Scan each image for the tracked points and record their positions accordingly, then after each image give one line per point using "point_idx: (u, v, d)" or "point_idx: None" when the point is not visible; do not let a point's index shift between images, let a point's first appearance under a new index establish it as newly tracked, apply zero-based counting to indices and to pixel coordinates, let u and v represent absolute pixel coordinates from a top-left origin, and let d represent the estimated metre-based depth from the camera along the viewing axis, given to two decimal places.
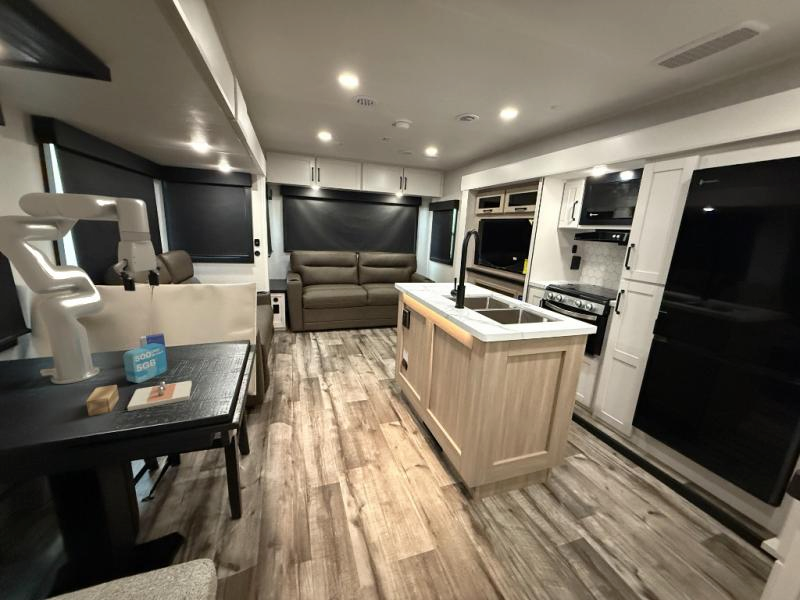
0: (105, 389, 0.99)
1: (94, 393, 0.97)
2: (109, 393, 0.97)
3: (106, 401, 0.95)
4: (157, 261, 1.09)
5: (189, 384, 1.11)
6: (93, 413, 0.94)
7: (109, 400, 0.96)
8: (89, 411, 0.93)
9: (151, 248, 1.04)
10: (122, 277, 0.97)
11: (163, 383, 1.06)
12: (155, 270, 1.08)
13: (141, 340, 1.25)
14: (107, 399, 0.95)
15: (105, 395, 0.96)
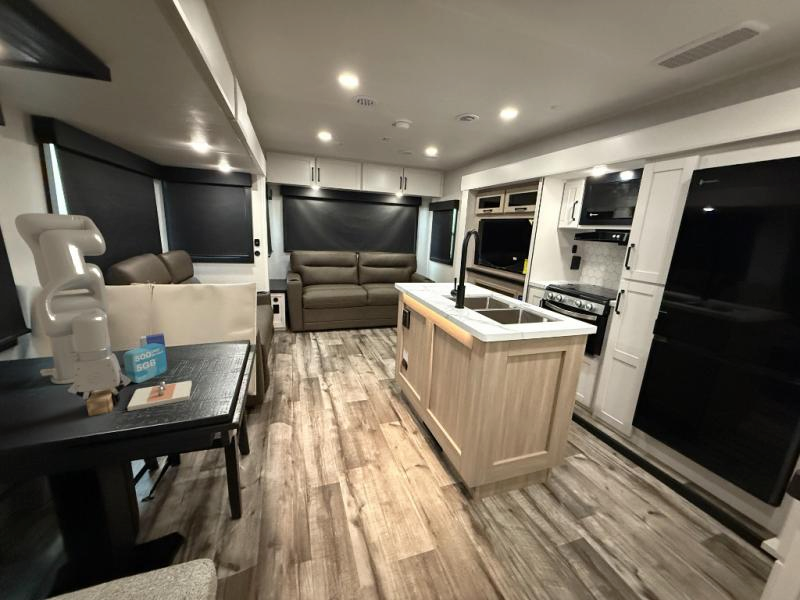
0: (105, 389, 0.99)
1: (94, 393, 0.97)
2: (109, 393, 0.97)
3: (106, 401, 0.95)
4: None
5: (189, 384, 1.11)
6: (93, 413, 0.94)
7: (109, 400, 0.96)
8: (89, 411, 0.93)
9: None
10: None
11: (163, 383, 1.06)
12: None
13: (141, 340, 1.25)
14: (107, 399, 0.95)
15: (105, 395, 0.96)
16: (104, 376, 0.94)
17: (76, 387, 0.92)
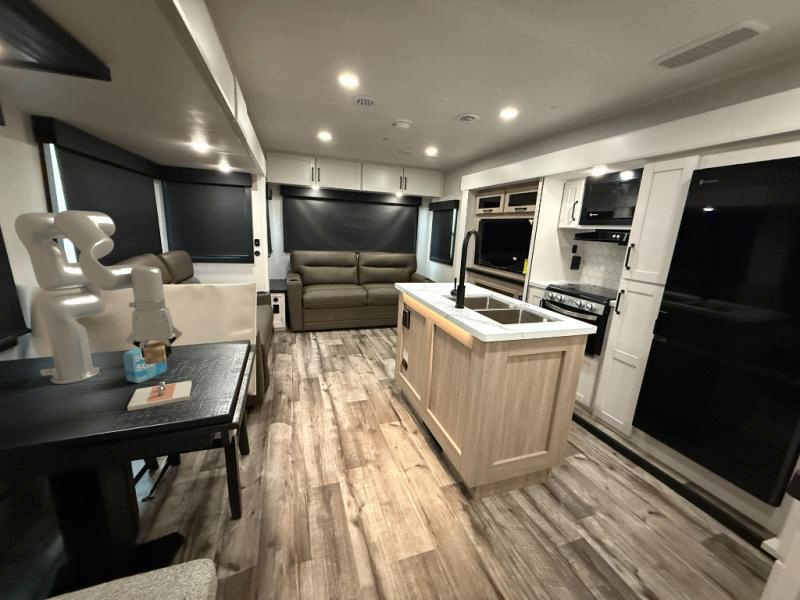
0: (158, 342, 1.03)
1: (148, 344, 1.01)
2: (163, 344, 1.01)
3: (161, 351, 0.99)
4: None
5: (189, 384, 1.11)
6: (149, 362, 0.98)
7: (163, 350, 1.00)
8: (146, 360, 0.97)
9: None
10: None
11: (163, 383, 1.06)
12: None
13: None
14: (162, 349, 0.99)
15: (159, 346, 1.00)
16: (159, 327, 0.98)
17: (134, 336, 0.96)
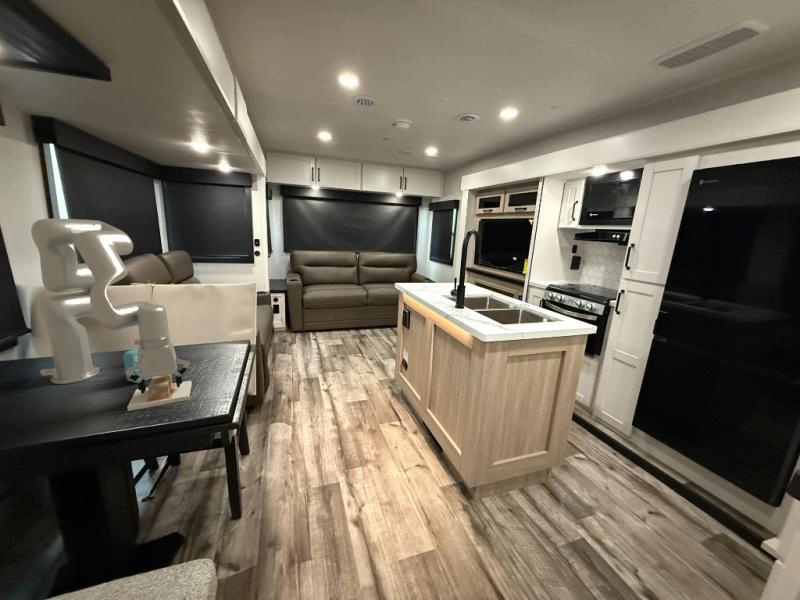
0: (162, 376, 1.06)
1: (153, 379, 1.03)
2: (167, 380, 1.04)
3: (165, 386, 1.02)
4: None
5: (189, 384, 1.11)
6: (154, 398, 1.01)
7: (168, 386, 1.02)
8: (150, 396, 1.00)
9: None
10: (182, 373, 1.07)
11: None
12: None
13: None
14: (166, 385, 1.02)
15: (164, 381, 1.03)
16: (164, 363, 1.01)
17: (139, 373, 0.99)
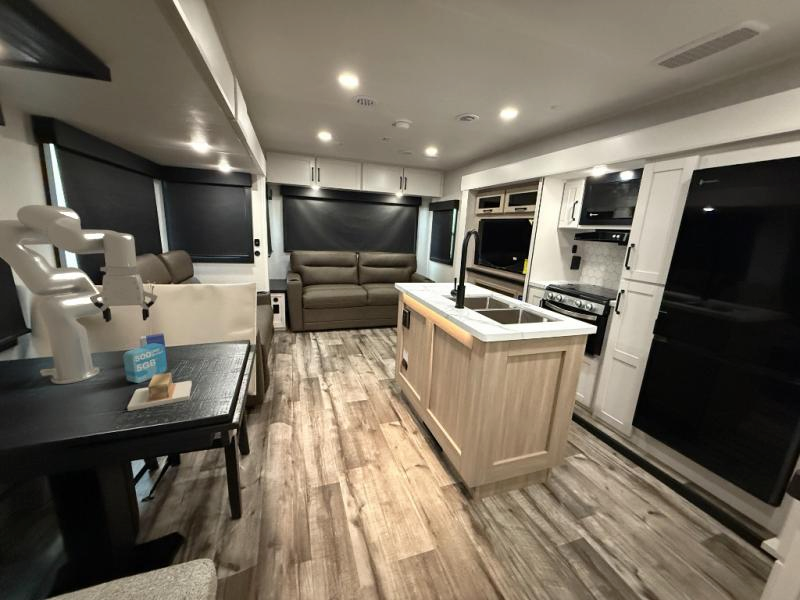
0: (162, 376, 1.06)
1: (153, 379, 1.03)
2: (167, 380, 1.04)
3: (165, 386, 1.02)
4: None
5: (189, 384, 1.11)
6: (154, 398, 1.01)
7: (168, 386, 1.02)
8: (150, 396, 1.00)
9: None
10: (150, 306, 1.06)
11: None
12: None
13: (141, 340, 1.25)
14: (166, 385, 1.02)
15: (164, 381, 1.03)
16: (130, 293, 1.01)
17: (104, 300, 0.98)
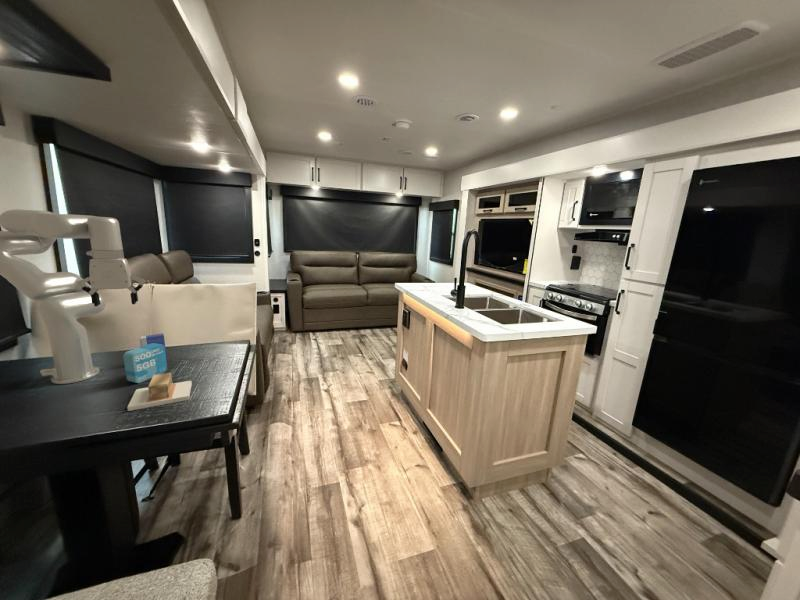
0: (162, 376, 1.06)
1: (153, 379, 1.03)
2: (167, 380, 1.04)
3: (165, 386, 1.02)
4: None
5: (189, 384, 1.11)
6: (154, 398, 1.01)
7: (168, 386, 1.02)
8: (150, 396, 1.00)
9: None
10: (138, 290, 1.07)
11: None
12: None
13: (141, 340, 1.25)
14: (166, 385, 1.02)
15: (164, 381, 1.03)
16: (117, 276, 1.02)
17: (91, 284, 0.99)
